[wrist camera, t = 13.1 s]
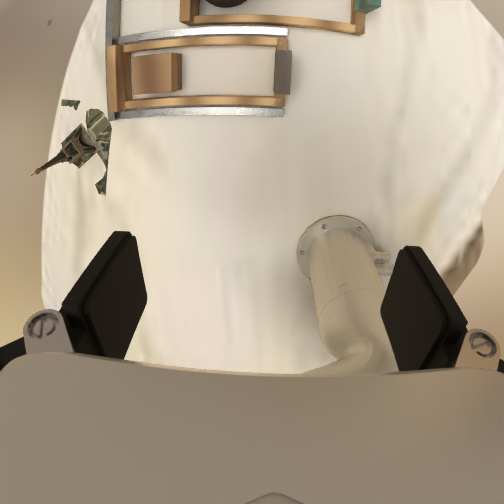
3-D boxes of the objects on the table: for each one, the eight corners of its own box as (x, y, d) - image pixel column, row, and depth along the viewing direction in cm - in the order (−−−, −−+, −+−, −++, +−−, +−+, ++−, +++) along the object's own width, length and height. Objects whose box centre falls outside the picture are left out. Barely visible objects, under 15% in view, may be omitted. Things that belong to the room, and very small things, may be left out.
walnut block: (181, 54, 35) (171, 52, 31) (181, 88, 38) (171, 91, 34) (146, 57, 35) (132, 57, 31) (147, 91, 38) (133, 94, 34)
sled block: (287, 40, 34) (292, 33, 27) (284, 104, 39) (288, 112, 32) (123, 47, 34) (95, 46, 28) (124, 107, 39) (98, 116, 32)
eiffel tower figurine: (108, 195, 47) (67, 237, 36) (58, 184, 46) (12, 221, 35) (117, 103, 39) (67, 122, 28) (62, 98, 38) (6, 116, 27)
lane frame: (289, -58, 26) (290, -64, 23) (282, 115, 40) (283, 117, 37) (118, -43, 26) (110, -48, 24) (116, 117, 40) (108, 121, 38)
